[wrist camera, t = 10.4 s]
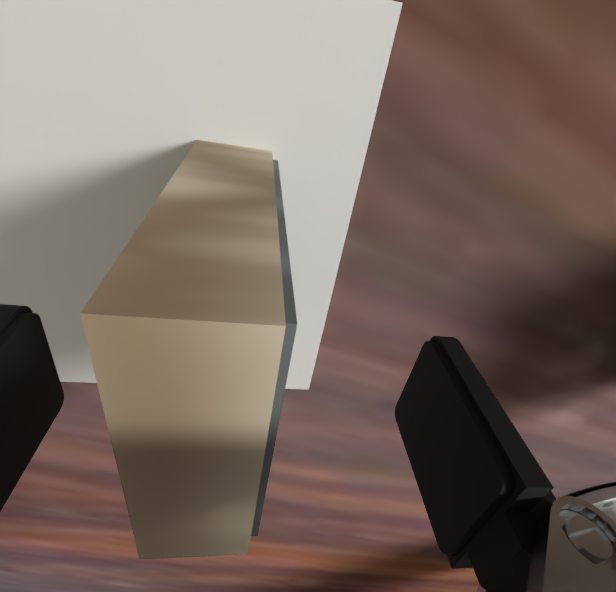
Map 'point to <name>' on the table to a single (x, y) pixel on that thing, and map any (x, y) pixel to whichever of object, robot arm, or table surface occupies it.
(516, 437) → the robot arm
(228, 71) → the rubber mat
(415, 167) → the table surface
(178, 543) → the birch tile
